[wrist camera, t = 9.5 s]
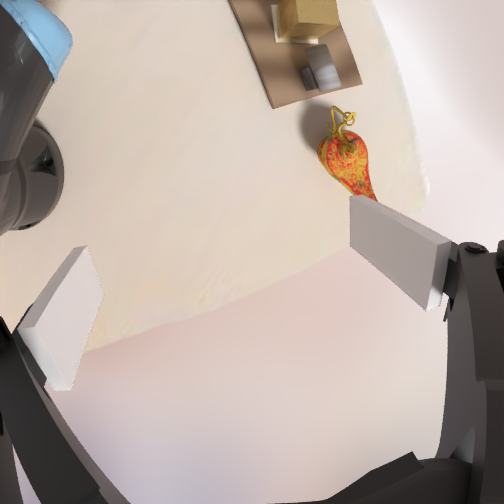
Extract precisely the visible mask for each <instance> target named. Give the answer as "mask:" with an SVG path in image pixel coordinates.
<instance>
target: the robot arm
mask: <svg viewBox="0 0 504 504" xmlns="http://www.w3.org/2000/svg"><path fill="white" fill-rule="evenodd" d="M72 43H73V42H72V35H71V33H70V31H69V29H68V28H67V27H66V25H65V24H64V23H63V22H62V21H61V20H60V19H59V18H58V17H57V16H56V15H55V14H53V13H52V12H51V11H50V10H48V9H47V8H46V7H44V6H43V5H42V4H40V3H39V2H37V1H36V0H0V236H1V235H3V234H4V233H5V232H7V231H11V230H24V229H28V228H31V227H33V226H35V225H37V224H38V223H40V222H41V221H42V220H44V219H45V218H46V217H47V216H49V214H50V213H51V212H52V211H53V210H54V208H55V207H56V205H57V203H58V201H59V199H60V196H61V193H62V189H63V183H64V166H63V160H62V156H61V153H60V150H59V148H58V146H57V144H56V143H55V141H54V140H53V138H52V137H51V136H50V135H49V134H48V133H47V132H46V131H45V130H43V129H41V128H40V127H37V126H35V125H33V122H34V120H35V118H36V116H37V114H38V112H39V110H40V108H41V106H42V104H43V102H44V100H45V98H46V96H47V94H48V92H49V90H50V88H51V86H52V85H53V83H55V82H56V81H57V78H58V73H59V71H60V69H61V67H62V65H63V63H64V62H65V60H66V58H67V56H68V54H69V53H70V51H71V48H72ZM350 246H351V247H352V248H353V249H354V250H355V251H357V252H358V253H359V254H360V255H361V256H363V257H364V258H365V259H366V260H368V261H369V262H370V263H371V264H372V265H374V266H375V267H376V268H377V269H378V270H379V271H381V272H382V273H383V274H384V275H385V276H387V277H388V278H389V279H390V280H391V281H392V282H393V283H395V284H396V285H397V286H398V287H399V288H400V289H402V290H403V291H404V292H405V293H406V294H407V295H408V296H410V297H411V298H412V299H413V300H414V301H415V302H416V303H417V304H418V305H420V306H421V307H422V308H423V309H424V310H425V311H428V310H431V309H433V308H436V307H438V306H440V304H441V299H442V294H443V292H444V293H445V294H446V295H448V296H449V299H448V303H447V308H446V312H445V316H444V320H443V321H446V319H448V356H447V357H448V358H447V381H446V394H445V405H444V415H443V423H442V431H441V438H440V444H439V448H438V451H437V454H436V456H435V458H430V459H424V460H417V458H416V456H415V455H414V453H413V452H410V453H408V454H406V455H404V456H402V457H400V458H398V459H396V460H394V461H392V462H389V463H387V464H385V465H383V466H380V467H379V468H376V469H374V470H371V471H370V472H368V473H367V474H365V475H364V476H363V477H361V478H360V479H358V480H357V481H355V482H354V483H352V484H351V485H349V486H348V487H346V488H345V489H343V490H342V491H340V492H339V493H337V494H335V495H334V496H332V497H330V498H328V499H326V500H322V501H312V502H299V503H279V504H504V240H502V241H500V242H499V244H498V249H497V252H495V253H494V252H493V253H489V251H488V250H487V249H486V248H485V247H484V246H482V245H480V244H477V243H474V242H464V243H461V244H459V245H458V244H456V243H454V242H452V241H451V240H449V239H448V238H446V237H444V236H442V235H440V234H439V233H437V232H435V231H433V230H431V229H430V228H427V227H426V226H424V225H422V224H420V223H418V222H416V221H414V220H412V219H410V218H409V217H407V216H405V215H403V214H401V213H399V212H397V211H395V210H393V209H391V208H389V207H387V206H385V205H383V204H381V203H379V202H377V201H375V200H373V199H371V198H368V197H366V196H364V195H356V196H350ZM103 296H104V293H103V290H102V288H101V285H100V282H99V279H98V276H97V274H96V271H95V268H94V265H93V262H92V259H91V256H90V253H89V250H88V246H87V245H86V246H82V247H78V248H74V249H73V250H72V251H71V253H70V254H69V255H68V256H67V258H66V259H65V260H64V262H63V263H62V264H61V266H60V267H59V268H58V270H57V271H56V272H55V274H54V275H53V277H52V278H51V279H50V281H49V282H48V284H47V285H46V286H45V288H44V289H43V291H42V292H41V293H40V295H39V296H38V298H37V299H36V301H35V302H34V303H33V304H32V305H31V306H30V307H29V308H28V309H27V311H26V312H25V314H24V316H23V317H22V318H21V320H20V322H19V323H18V325H17V326H16V328H15V329H14V331H13V333H12V334H11V333H10V331H9V329H8V327H7V325H6V324H5V322H4V320H3V318H2V317H1V316H0V504H23V500H22V496H21V492H20V487H19V483H18V477H17V472H16V467H15V461H14V455H13V447H12V444H13V446H14V449H15V451H16V453H17V456H18V458H19V460H20V462H21V465H22V467H23V469H24V471H25V473H26V475H27V477H28V479H29V482H30V484H31V485H32V487H33V489H34V491H35V493H36V495H37V497H38V499H39V500H40V502H41V504H130V503H129V502H128V501H127V499H126V498H125V497H124V496H123V495H122V494H121V493H120V492H119V491H118V490H117V488H116V487H115V486H114V485H113V484H112V483H111V482H110V480H109V479H108V478H107V477H106V476H105V474H104V473H103V472H102V471H101V470H100V468H99V467H98V466H97V465H96V463H95V462H94V461H93V459H92V458H91V457H90V455H89V454H88V453H87V452H86V450H85V449H84V447H83V446H82V445H81V443H80V442H79V441H78V439H77V438H76V436H75V435H74V433H73V432H72V431H71V429H70V428H69V426H68V425H67V423H66V422H65V420H64V418H62V415H61V414H60V412H59V411H58V409H57V407H56V406H55V404H54V403H53V401H52V399H51V397H50V396H49V394H48V392H47V391H46V390H45V388H44V385H45V382H46V380H48V382H49V383H50V385H51V386H52V388H53V389H54V391H61V390H72V387H73V383H74V380H75V376H76V373H77V370H78V367H79V363H80V360H81V357H82V354H83V351H84V348H85V345H86V342H87V339H88V337H89V334H90V331H91V328H92V325H93V323H94V320H95V317H96V314H97V312H98V309H99V307H100V304H101V301H102V299H103Z"/></svg>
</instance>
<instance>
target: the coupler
mask: <svg viewBox="0 0 504 504" xmlns="http://www.w3.org/2000/svg"><path fill="white" fill-rule="evenodd" d="M275 11H276V19H277V27H278V35H279V39H297V40H315V39H317V38H319V37H321V36H322V35H324V34H326V33H328V32H329V31H331V30H333V29H335V28H337V27H338V26H340V23H339V16H338V10H337V4H336V0H281V1H280V3H279V4H278V5H277V6H276V7H275Z"/></svg>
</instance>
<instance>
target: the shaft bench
mask: <svg viewBox="0 0 504 504" xmlns="http://www.w3.org/2000/svg"><path fill="white" fill-rule="evenodd" d="M280 1H281V0H229V2H230V4H231V6H232V9H233V11H234V13H235V15H236V18H237V20H238V22H239V25H240V27H241V29H242V32H243V34H244V36H245V39H246V41H247V44H248V46H249V48H250V51H251V53H252V56H253V58H254V61H255V63H256V66H257V68H258V71H259V73H260V76H261V79H262V81H263V84H264V86H265V89H266V92H267V94H268V97H269V100H270V102H271V105H272V108H273V109H275V108H278V107H281V106H285V105H288V104H291V103H294V102H297V101H301V100H304V99H308V98H311V97H315V96H318V95H322V94H325V93H329V92H333V91H337V90H341V89H345V88H349V87H353V86H357V85H362V80H361V77H360V74H359V71H358V69H357V66H356V63H355V60H354V57H353V54H352V52H351V49H350V46H349V44H348V41H347V38H346V36H345V33H344V31H343V28H342V26H341V23H340V21H339V23H340V26H338V27H337V28H335V29H333V30H331V31H329V32H328V33H326V34H324V35H322V36H321V37H319V38H317V39H315V40H297V39H279V35H278V27H277V19H276V11H275V7H276V6H277V5H278V4H279V3H280Z"/></svg>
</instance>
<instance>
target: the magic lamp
mask: <svg viewBox="0 0 504 504" xmlns="http://www.w3.org/2000/svg"><path fill="white" fill-rule="evenodd" d="M333 109H336V110H337V111H338V112H339V113H341V114H342V115H343V122H341V123H340V125H339V129H338V131H337V128H336V124H335V119H334V114H333ZM347 113H348V114H350V115H349V116H346V115H345V114H347ZM355 116H356V113H355V112H352V113H350V112H345V113H343V112H342V111H341V110H340V109H339V108H337V107H336V106H332V107H331V117H332V123H333V131H332V130H330V128H329V126H328V124H329V123H327V127H328V129H329V130H330V132H331V133H332V135H330V136H329V137H327V138H325V139H324V140H323V141H322V142H321V143H320V145H319V148H318V158H319V160H320V162H321V164H322V165H323V166H324V167H325V168H326V170H327V171H328V172H329V174H330V175H331V176H333V177H334V178H335V179H336V180H338V181H339V182H340V183H341V184H342V185H343V186H345V187H346V188H347V189H348V190H349V191H350V192H351V193H352V194H353V195H354V196H356V195H364V196H366V197H368V198H371V199H373V200H375V201H377V199H376V196H375V194H374V192H373V189H372V186H371V182H370V178H369V171H368V152H367V148H366V145H365V143H364V141H363V140H362V139H361V137H360V136H358V135H357V134H356V133H354V132H351V131H347V130H342V131H341V128H342V127H343V125H345V124H346V125H347V126H352V125H353V124H354V117H355ZM344 117H345V118H346V119H347V121H350V120H352V119H353V123H352V124H350V125H349V124H347V121H346V120H345V119H344ZM329 125H330V124H329ZM377 202H378V201H377Z"/></svg>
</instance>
